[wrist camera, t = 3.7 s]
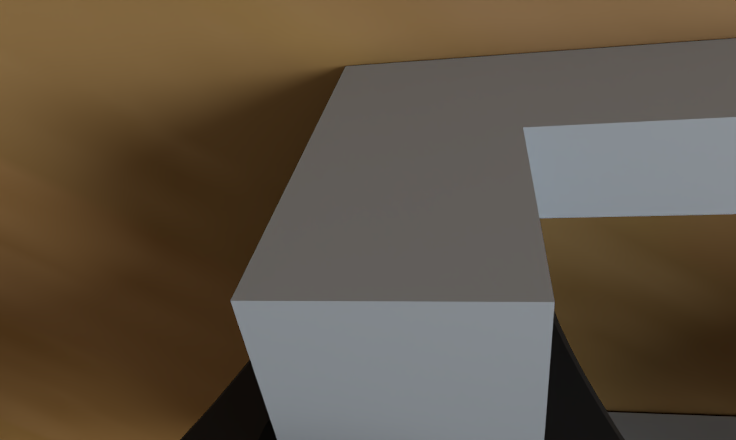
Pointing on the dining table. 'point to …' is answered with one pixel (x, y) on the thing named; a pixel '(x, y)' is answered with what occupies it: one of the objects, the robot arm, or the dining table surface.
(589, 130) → the gray rectangular open frame
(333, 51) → the dining table surface
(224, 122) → the dining table surface
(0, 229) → the dining table surface
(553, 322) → the robot arm
